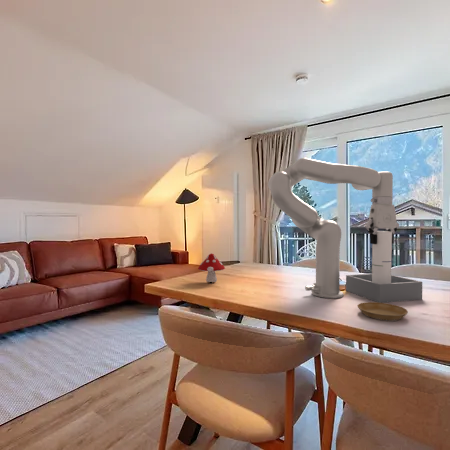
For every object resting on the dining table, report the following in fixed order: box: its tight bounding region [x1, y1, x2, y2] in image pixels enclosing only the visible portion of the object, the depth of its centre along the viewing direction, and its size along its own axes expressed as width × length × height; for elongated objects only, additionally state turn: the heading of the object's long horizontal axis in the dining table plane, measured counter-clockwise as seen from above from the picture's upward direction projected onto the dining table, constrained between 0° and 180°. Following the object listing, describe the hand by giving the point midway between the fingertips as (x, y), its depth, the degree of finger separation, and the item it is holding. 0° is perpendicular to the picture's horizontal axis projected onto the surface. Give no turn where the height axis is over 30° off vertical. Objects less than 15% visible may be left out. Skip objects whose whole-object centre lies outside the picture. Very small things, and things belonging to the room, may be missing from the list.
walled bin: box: [345, 273, 423, 303], centre depth 123 cm, size 20×20×7 cm
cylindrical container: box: [371, 230, 393, 284], centre depth 123 cm, size 7×7×25 cm
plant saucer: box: [356, 301, 409, 322], centre depth 97 cm, size 15×15×3 cm
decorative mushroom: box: [197, 253, 226, 283], centre depth 148 cm, size 14×14×15 cm
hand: (381, 243), depth 123 cm, fingers open, 7 cm apart
